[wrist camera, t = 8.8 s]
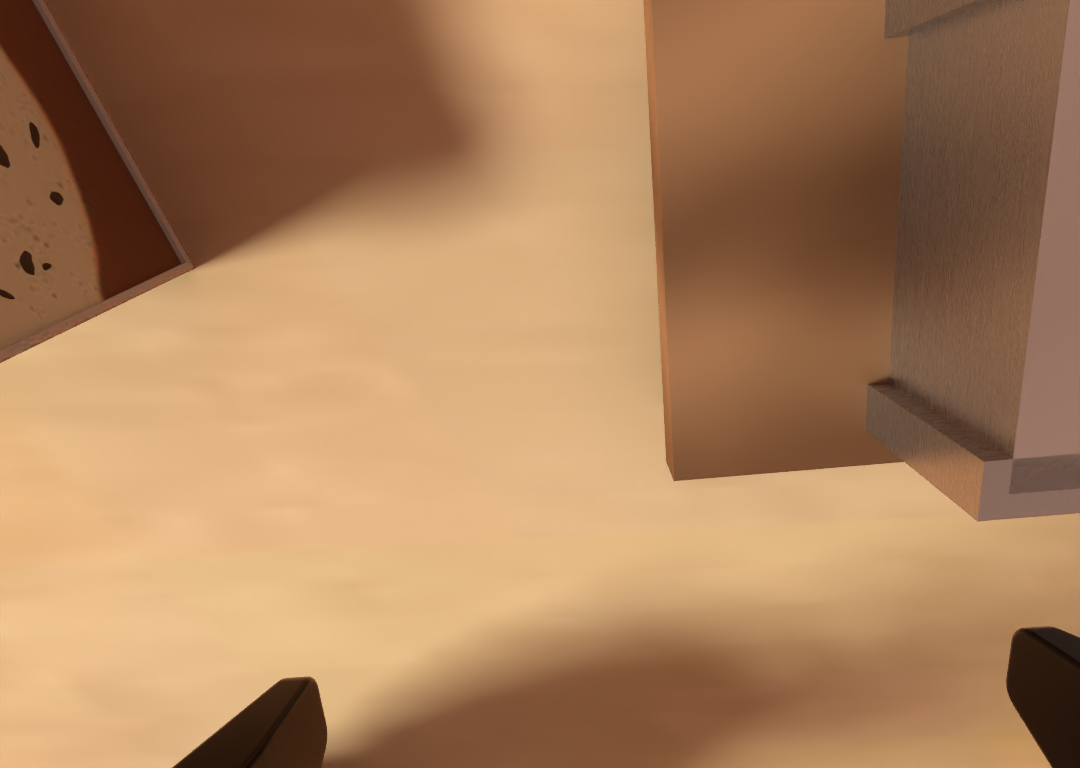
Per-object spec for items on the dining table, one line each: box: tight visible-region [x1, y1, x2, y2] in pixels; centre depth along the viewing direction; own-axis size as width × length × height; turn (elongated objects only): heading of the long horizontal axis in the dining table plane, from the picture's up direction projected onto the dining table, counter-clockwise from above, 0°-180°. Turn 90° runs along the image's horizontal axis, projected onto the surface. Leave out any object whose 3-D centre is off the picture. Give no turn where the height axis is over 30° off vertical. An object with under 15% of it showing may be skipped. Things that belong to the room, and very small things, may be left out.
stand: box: [644, 0, 909, 481], centre depth 16 cm, size 12×16×3 cm
